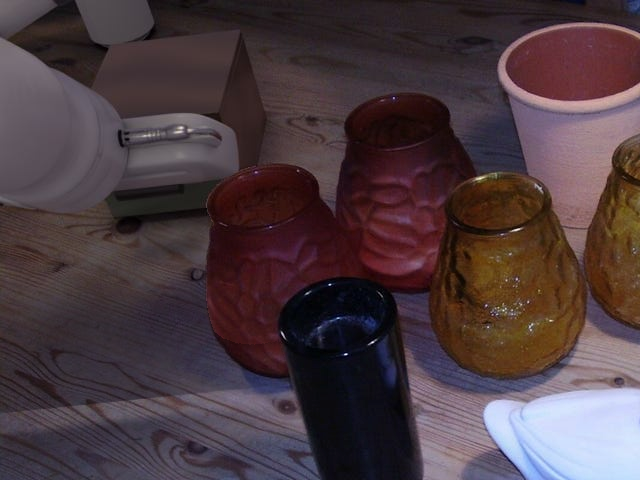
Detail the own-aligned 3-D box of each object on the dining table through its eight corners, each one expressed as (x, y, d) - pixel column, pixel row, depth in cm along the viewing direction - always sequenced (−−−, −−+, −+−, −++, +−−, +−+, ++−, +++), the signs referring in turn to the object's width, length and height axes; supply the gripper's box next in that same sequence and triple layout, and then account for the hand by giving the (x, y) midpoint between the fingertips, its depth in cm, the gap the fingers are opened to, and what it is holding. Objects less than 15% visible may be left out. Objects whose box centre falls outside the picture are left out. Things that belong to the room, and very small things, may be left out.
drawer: (231, 234, 86) (204, 158, 81) (102, 248, 87) (67, 174, 81) (255, 122, 99) (233, 50, 93) (143, 135, 99) (114, 64, 94)
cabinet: (248, 203, 91) (218, 111, 84) (113, 218, 91) (72, 128, 85) (266, 117, 101) (240, 28, 94) (144, 131, 102) (110, 44, 95)
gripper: (202, 79, 66) (258, 126, 80) (-96, 114, 67) (10, 154, 81) (211, 174, 66) (266, 204, 80) (-87, 207, 67) (18, 231, 81)
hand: (135, 179), depth 81 cm, fingers open, 8 cm apart
